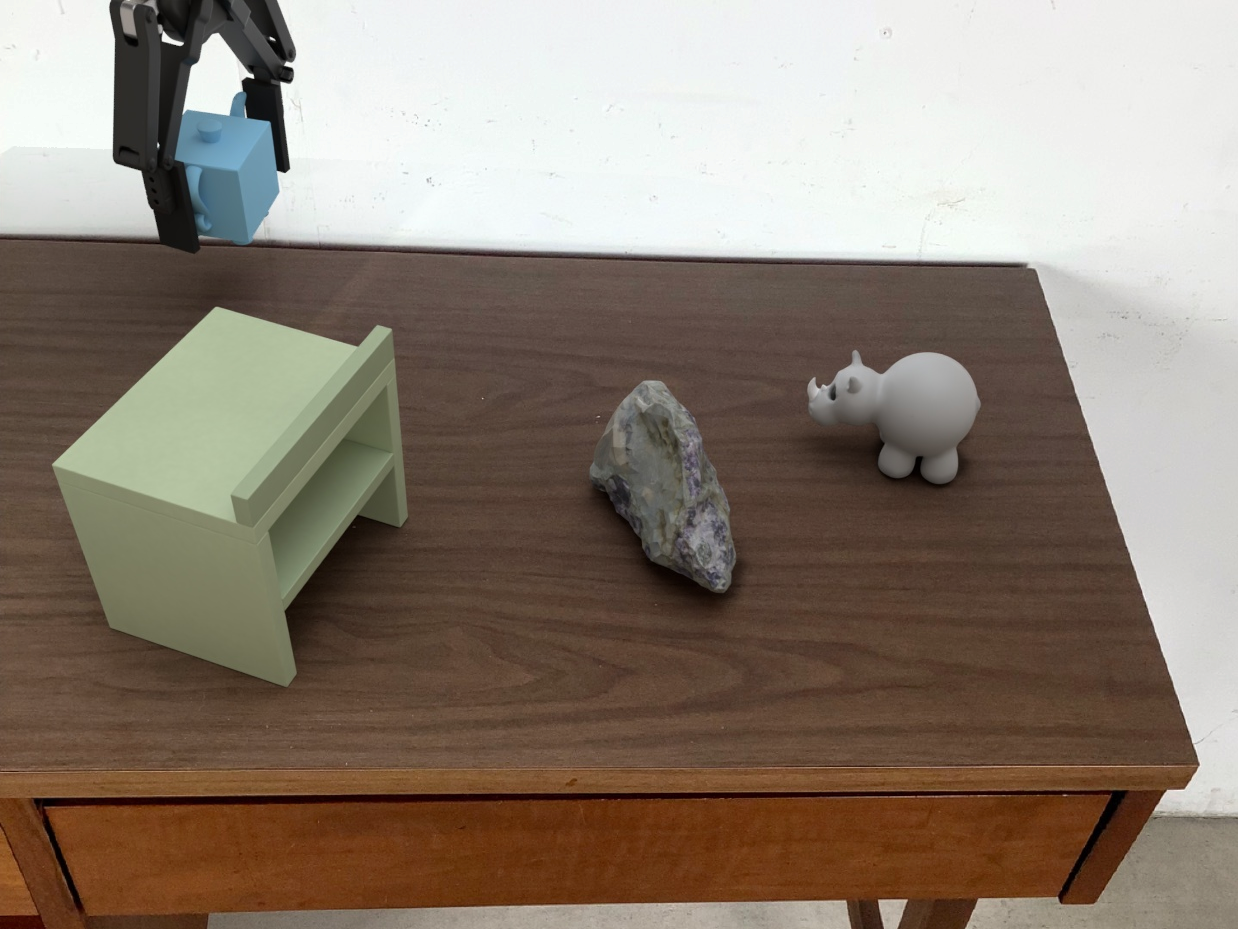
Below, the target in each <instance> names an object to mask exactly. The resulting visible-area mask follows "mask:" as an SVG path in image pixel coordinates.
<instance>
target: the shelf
mask: <svg viewBox="0 0 1238 929" xmlns="http://www.w3.org/2000/svg"><path fill="white" fill-rule="evenodd" d="M393 334H394V333H393V329H392V328H390V327H386V326H382V325H379V324H377V325H376V326H374V328H373V329H372V330H371V332H369V334H368V335H367V336H366V337H365V338H364V340H362V342H361V343H360V344H359V345H358V346H356V345H353V344H349V343H346V342H342V341H339V340H334V339H331V338H327V337H324V336H321V335H318V334H314V333H311V332H308V331H303V330H300V329H297V328H292V327H289V326H287V325H283V324H279V323H277V322H276V323H275V322H272V321H270V320H269V321H268V320H265V319H261V318H258V317H254V316H251V315H247V314H243V313H241V312H237V311H234V310H230V309H226V308H223V307H220V306H215V307H214V308H212V309H211V310H210V312H208V313H207V314H206V315H205V316H204V317H203V318H202V319H201V320H200V321H199V322H198V323H197V324H196V325H195V326H194V327H193V328H192V329H191V330H190V331H189V332H188V333H187V334H186V335H185V336H184V337H182V338H181V340H179V341H178V343H176V344H175V345H174V346H173V347H172V348H171V349H170V350H169V351H168V352H167V353H166V354H165V355H164V356H163V357H162V358H161V359H160V360H159V361H158V362H156V364H154V366H152V367H151V369H149V370H148V372H146V373H145V374H144V375H143V376H142V377H141V378H140V379H139V380H138V381H137V382H136V383H135V384H133V385H132V386H131V387H130V389H128V390H127V392H126V393H125V394H123V395H122V396H121V397H120V398H119V399H118V400H117V401H116V402H115V403H114V404H113V405H112V406H111V407H110V408H109V409H108V410H107V411H106V412H105V413H104V414H103V415H101V416H100V417H99V418H98V419H97V420H96V422H94V423H93V424H92V425H91V426H90V427H89V428H88V429H87V430H86V431H85V432H84V433H83V434H82V435H81V436H80V437H79V438H77V439H76V441H75V442H74V443H72V444H71V445H70V446H69V447H68V448H67V449H66V450H65V451H64V452H63V453H62V454H61V455H60V456H59V457H58V458H57V459H56V460H55V461H54V462H53V463H52V464H51V466H52V469H53V472H54V475H55V478H56V481H57V484H58V486H59V490H60V492H61V495H62V497H63V501H64V504H65V506H66V509H67V512H68V514H69V517H70V520H71V523H72V526H73V528H74V532H75V534H76V536H77V537H76V538H77V540H78V542H79V545H80V548H81V551H82V553H83V556H84V559H85V562H86V564H87V567H88V570H89V573H90V576H91V579H92V580H93V582H92V583H93V584H94V587H95V590H96V593H97V595H98V598H99V601H100V604H101V607H102V609H103V612H104V614H105V618H106V621H107V623H108V626H109V628H110V629H113V630H115V631H119V632H122V633H124V634H127V635H131V636H133V637H136V638H139V639H142V640H145V641H149V642H152V643H153V644H157V645H160V646H163V647H166V648H169V649H172V650H175V651H177V652H181V653H184V654H187V655H188V656H189V655H190V656H193V657H196V658H198V659H202V660H204V661H207V662H210V663H212V664H213V663H214V664H216V665H218V666H221V667H224V668H228V669H231V670H235V671H237V672H240V673H243V674H246V675H249V676H251V677H254V678H258V679H260V680H264V681H267V682H269V683H273V684H276V685H279V686H281V687H284V688H288V687H289V685H290V684H291V683H292V681H293V680H294V679H295V677H296V676H297V674H298V673H297V672H298V671H297V667H296V661H295V657H294V652H293V647H292V641H291V638H290V632H289V628H288V627H289V626H288V622H287V617H286V613H285V612H286V610H287V609H288V607H289V606H290V605H291V603H292V602H293V601H294V599H295V598H296V597H297V595H298V594H299V593H300V592H301V591H302V589H303V587H305V585H306V584H307V582H308V581H309V579H310V578H311V577H312V576H313V574H315V571H317V568H318V567H319V566H320V565H321V564H322V562H323V561H324V560H325V558H326V557H327V556H328V555H329V553H330V551H331V550H332V549H333V548H334V546H335V545H336V543H338V541H339V539H340V538H342V536H343V534H344V533H345V531H346V530H347V529H348V528H349V527H350V525H351V523H353V521H354V519H355V518H356V517H357V516H361V517H364V518H368V519H370V520H374V521H377V522H380V523H384V524H387V525H390V526H394V527H396V528H402V526H403V525H404V523H405V522H406V521H407V519H408V518H409V513H408V512H409V511H408V501H407V488H406V477H405V468H404V466H405V464H404V454H403V442H402V431H401V430H402V429H401V418H400V407H399V405H400V404H399V397H398V394H399V392H398V381H397V374H396V373H397V372H396V370H397V369H396V359H395V346H394V335H393Z"/></svg>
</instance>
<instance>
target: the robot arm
mask: <svg viewBox="0 0 1238 929" xmlns="http://www.w3.org/2000/svg"><path fill="white" fill-rule="evenodd" d="M108 5H109V6H108V10H109V11H108V12H109V16H110V22H111V27H112V32H113V38H114V58H113V60H114V61H113V62H114V63H113V67H114V68H113V109H112V111H113V113H112V115H113V116H112V117H113V118H112V160H113V162H114V164H116V165H118V166H123V167H126V168H129V169H133V170H135V171H139V172H140V173H141V177H142V182H143V186H144V190H145V195H146V200H147V205H148V206H149V208H150V209H151V211H153V216H154V220H155V225H156V230H157V234H158V238H159V243H160V245H162V246H165V247H169V248H172V249H175V250H179V251H182V252H186V253H189V254H193V255H195V254H197V253H198V252H199V251H200V250H201V245H200V244H201V243H200V239H199V236H198V233H197V228H196V223H195V217H194V212H193V207H192V202H191V197H190V191H189V186H188V181H187V176H186V171H185V165H184V162H181V161H178V160H175V155H176V149H177V143H178V138H179V132H180V127H181V121H182V115H183V114H184V110H185V103H186V98H187V93H188V86H189V81H190V76H191V70H192V67H193V66H194V65H197V64H198V63H199V61H200V59H201V53H202V49H203V45H204V44H206V43H207V42H208V41H209V39H210V37H211V36H212V35H215V34H219V36H220V37H221V39H222V40H223V41H224V43H225V44H226V45H227V46H228V48H229V49H230V51H231V52H232V53H233V54H234V56H235V57H236V58H237V60H238V61H239V62H240V63H241V65H242V66H243V67H244V69H245V71H246V72H247V73H249V74H250V75H253V77H249V76H246V77H245V78H243V79H242V80H241V88H242V89H241V90H242V91H243V92H245V93H246V101H245V117H246V118H248V119H255V120H261V121H269V122H270V123H271V131H272V138H273V146H274V153H275V161H276V168H277V172H279V173H283V174H287V173H288V172H289V171H290V170H291V162H290V155H289V147H288V141H287V132H286V123H285V108H284V100H283V91H282V85H281V84H288V85H291V84H292V83H293V82H294V78H295V69H294V68H293V67H292V66H288V65H286V63H290V64H292V63H294V62H295V60H296V57H297V49H296V46H295V43H294V40H293V38H292V35H291V33H290V30H289V27H288V25H287V22H286V19H285V16H284V15H283V11H282V9H281V6H280V3H279V2H278V0H110V1H109V4H108ZM163 33H164V34H165V35H166V36H167V37H168V38H169V39H170V40H172V41H175V42H178V43H182V44H181V45H178V44H174V43H171V42H166V41H163V35H164V34H163ZM271 38H272V39H271ZM158 147H159V148H158Z"/></svg>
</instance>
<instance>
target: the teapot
mask: <svg viewBox="0 0 1238 929" xmlns="http://www.w3.org/2000/svg"><path fill="white" fill-rule="evenodd" d="M245 101H246V93H245V92H243V90H242V91H238V92H237V93H236V94H234V96H233V97H232V101H231V105H230V109H229V115H228V114H220V113H213V112H206V111H201V110H193V109H186V110H185V111H184V112H183V115H182V121H181V127H180V132H179V138H178V143H177V149H176V155H175V160H178V161H181V162H184V165H185V171H186V176H187V181H188V186H189V191H190V197H191V202H192V207H193V212H194V217H195V223H196V228H197V233H198V237H200V236H201V237H206V238H215V239H221V240H228V241H231V242H232V243H233V244H234V245H237V246H246V245H249V244H251V243H252V242H253V241H254V236H255V234H256V232H257V231H258V229H259V227H260V226H261V225H262V222H263V221H264V219H265V218H266V217H268V216H269V213H270V212H269V211H270V209H271V208H272V206H273V204H274V202H275V201H276V199H277V198H278V196H279V194H280V192H281V191H280V185H279V184H280V183H279V177H278V176H279V175H278V171H277V168H276V161H275V153H274V146H273V138H272V131H271V123H270V122H269V121H261V120H255V119H248V118H247V117H246V109H245ZM158 148H159V146H158Z"/></svg>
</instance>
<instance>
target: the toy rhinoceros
mask: <svg viewBox="0 0 1238 929" xmlns="http://www.w3.org/2000/svg"><path fill="white" fill-rule="evenodd" d="M816 379H817V378H816V376H814V377H813V378H812V379H811V380H810V381H809V383H808V385H807V388H806V389H807V390H806V392H807V396H808V405H807V410H808V414H809V416H810V418H811V419H812V421H813V422H814V423H816V424H817V425H819V426H821V427H828V428H829V427H835V426H836V425H839V424H846V425H849V426H852V427H853V426H855V427H860V426H864V425H865V426H866V425H868V424H873V425H875V426H876V428H877V429H878V431H879V437H880V438H879V439H880V440H881V441H882V443H883V444H884V445H883V446H882V449H881V451H880V453H879V456H878V459H877V466H878V468H879V471H881V472H882V473H883V474H884V475H886V476H887V477H890V478H893V479H902V478H905V477H908V476H909V475H910V474H911V473H912V472H913V470H914V467H915V465H916V459H917V457H922V459H921V461H920V474H921V476H922V477H923V478H924V480H926V481H928V482H929V483H931V484H935V485H943V484H947V483H949V482H951V481H953V480H954V479H955V477H956V475H957V473H958V470H959V455H958V451H957V447H958V445H959V443H960V442H962V441H963V440H964V439H965V438H966V436H967V435H968V434H969V432H970V431H971V429H972V427H973V425H974V423H975V420H976V417H977V414H978V412H979V411H980V409H981V405H982V404H981V399H980V398H979V396H978V392H977V388H976V385H975V382H974V380H973V378H972V377H971V375H970V373H969V371H968V370H967V369H966V368H965V367H964V366H963V365H962V364H961V363H960V362H958V361H957V360H955V359H954V358H952V357H950V356H948V355H945V354H942V353H938V352H932V351H931V352H930V351H928V352H926V351H924V352H917V353H913V354H909V355H907V356H904V357H902V358H901V359H899V360H898V361H896V362H895V363H893V364H892V365H891V366H889V368H888V369H887V370H886V371H885V372H884V373H878V372H876V371H875V370H874V369H872V368H871V367H869V366H865V365H864V364H863V362H862V358H861V354H860V352H859V351H858V350H856V349H855V350H853V351H852V353H851V364H850V365H848V366H847V367H844V368H843V369H840V370H839V371H838V372H837V373H836V375H835V377H834V379H833V380H832V381H831V383H830V384H828V385H825V384H822V385H821V387H818V386H817V384H816Z"/></svg>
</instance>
